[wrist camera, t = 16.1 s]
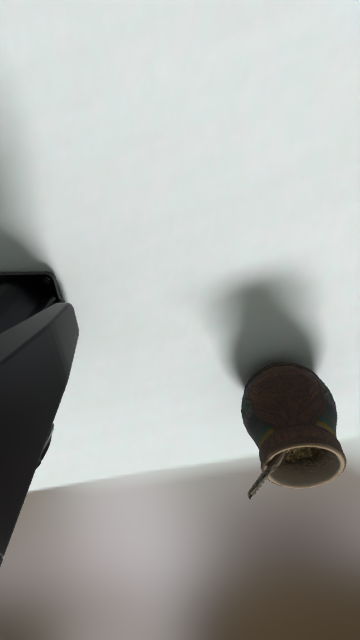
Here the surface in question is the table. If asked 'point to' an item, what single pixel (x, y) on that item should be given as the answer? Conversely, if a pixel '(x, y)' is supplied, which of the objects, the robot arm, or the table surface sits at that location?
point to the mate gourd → (292, 427)
